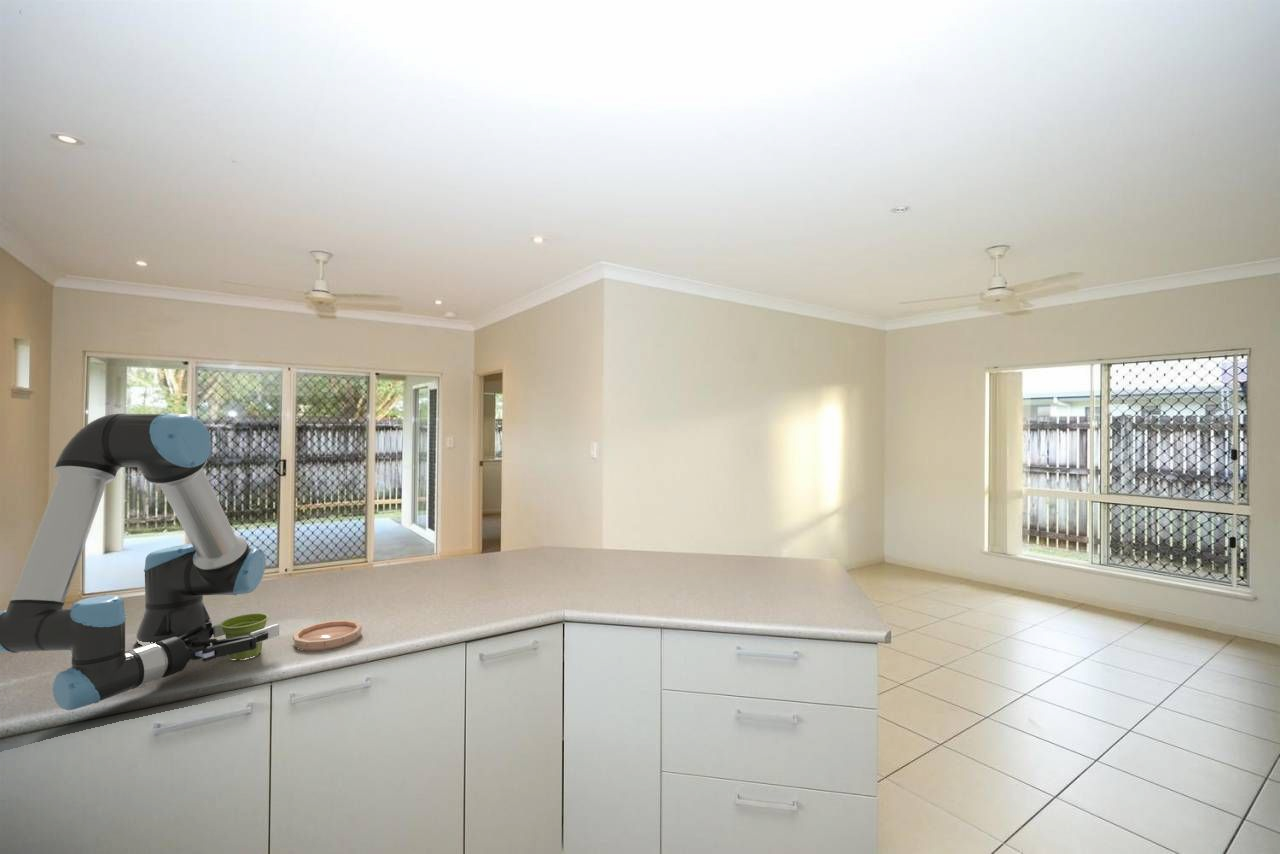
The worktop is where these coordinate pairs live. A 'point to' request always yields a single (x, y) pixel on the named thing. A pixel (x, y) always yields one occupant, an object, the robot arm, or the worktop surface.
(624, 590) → the worktop surface
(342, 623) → the saucer
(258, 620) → the plant pot
